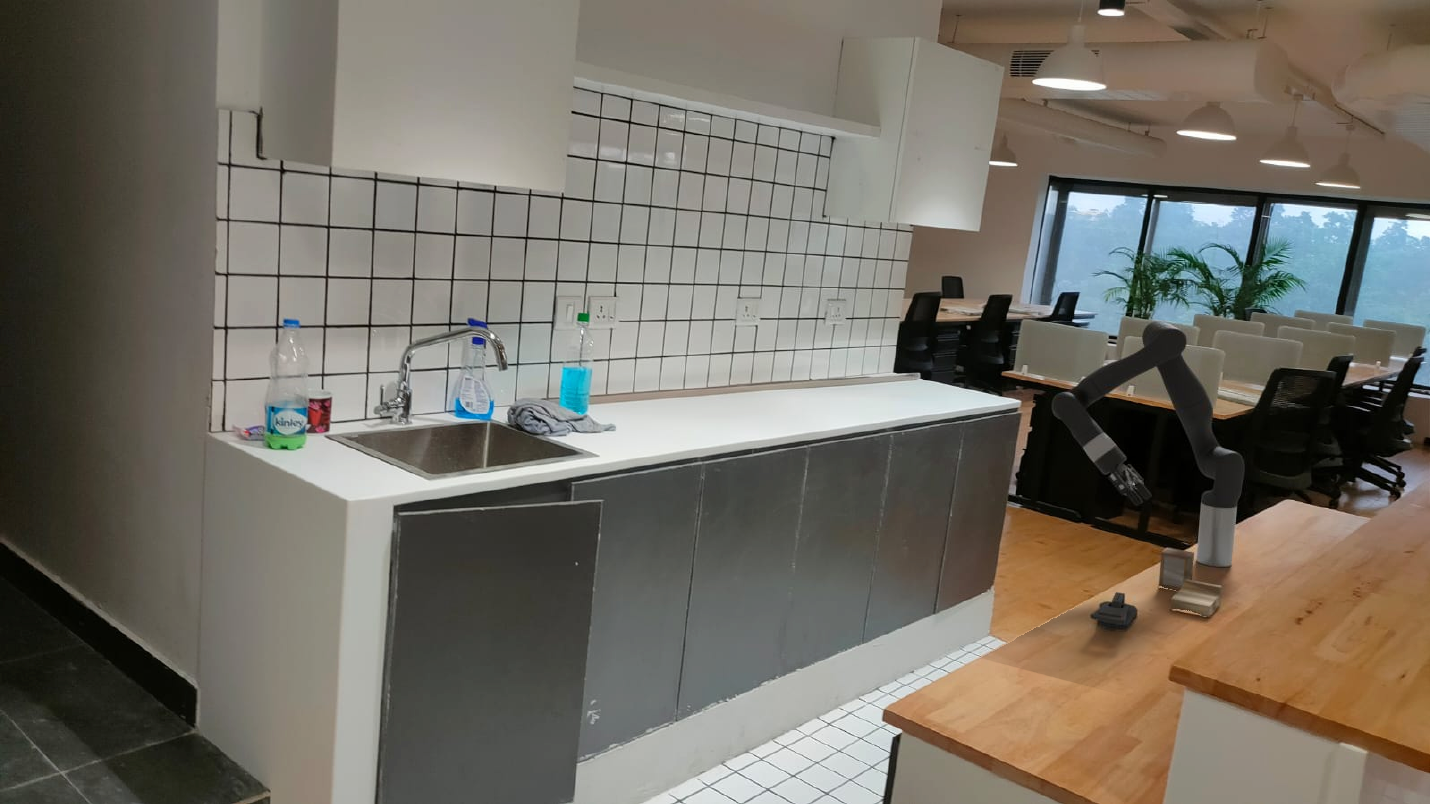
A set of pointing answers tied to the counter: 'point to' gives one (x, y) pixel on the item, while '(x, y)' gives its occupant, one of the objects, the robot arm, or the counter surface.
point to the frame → (1175, 568)
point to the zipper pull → (1115, 614)
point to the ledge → (1197, 597)
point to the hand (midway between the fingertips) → (1144, 501)
